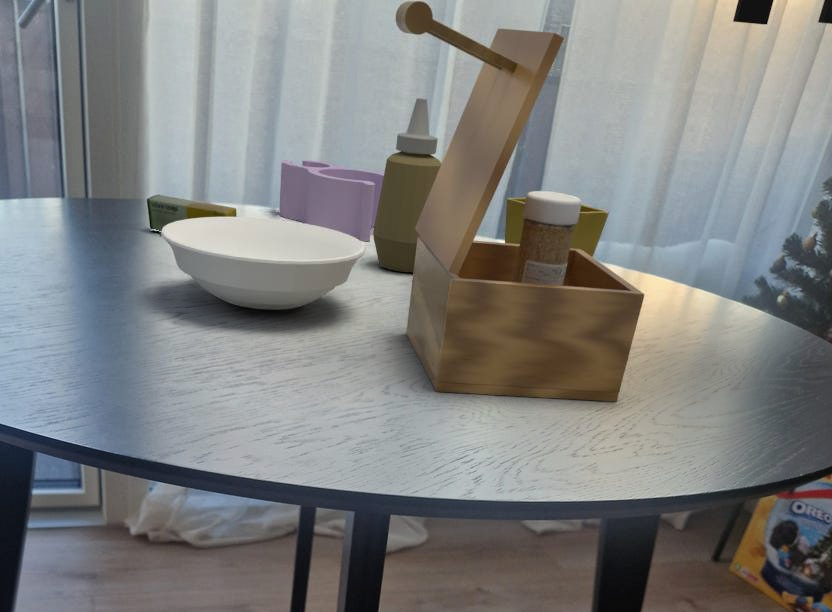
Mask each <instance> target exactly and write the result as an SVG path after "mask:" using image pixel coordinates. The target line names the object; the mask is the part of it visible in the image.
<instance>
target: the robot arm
mask: <svg viewBox="0 0 832 612" xmlns="http://www.w3.org/2000/svg"><path fill="white" fill-rule="evenodd" d="M773 4H774V0H737V4H736V8H735V12H734V16H733V20H732V22H734V23H743V24H755V25H768V23H769V19H770V15H771V11H772V8H773ZM817 23H819V24H830V25H832V0H823V4H822V7H821V10H820V14H819V17H818V20H817Z"/></svg>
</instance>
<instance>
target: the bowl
mask: <svg viewBox="0 0 832 612" xmlns="http://www.w3.org/2000/svg"><path fill="white" fill-rule="evenodd" d="M160 235H161V236H162V239H163V240H164V241H165V242H166V243H167V244H168V245H169V247H170V248H171V250H172V252H173V257H174V260H175V262H176V265H177V267H178V269H179V270H180V271H182V272H183V273H184V274H187V275H188V276H190V278H191V279H192V280H193V281H194V282H196V283H197V284H198V285H199V286H200V287H202V288H203V289H204V290H206V291H207V292H208V293H210V294H211V295H213V296H215V297H216V298H218V299H220V300H222V301H224V302H226V303H229V304H232V305H234V306H239V307H243V308H249V309H256V310H267V311H268V310H269V311H270V310H277V311H279V310H290V309H291V310H292V309H297V308H300V307H303V306H305V305H308V304H311V303H312V302H314V301H317V300H319V299H320V298H322V297H324V296H326V294H328V293H329V292H331V291H333V290H334V289H335V288H336V287H338V286H341V285H343V284H346V282H348V279H349V277H350V274H351V272H352V269H353V267H354V266H355V264H356V263H357V261H358V260H359V259H360V258H362V257H363V256H364V255H365V253H366V251H367V248H366V246H365V244H364V242H363V241H361V240H360V239H359V238H354V237H352V236H350V235H348V234H345V233H342V232H339V231H336V230H332V229H328V228H324V227H320V226H315V225H310V224H305V223H304V222H299V221H292V220H283V219H276V218H267V217H265V218H264V217H252V216H251V217H249V216H237V217H202V218H192V219H185V220H180V221H175V222H172V223H169V224H167V225H166V226H164V227H163V229H162V232H160Z"/></svg>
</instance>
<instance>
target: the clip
mask: <svg viewBox="0 0 832 612" xmlns="http://www.w3.org/2000/svg"><path fill="white" fill-rule="evenodd" d="M280 163H281V164H280V184H279V185H280V189H279V208H278V210H279V211H278V215H279V216H280V217H283V218H285V219H289V220H294V221H297V222H300V223H305V224H310V225H315V226H320V227H324V228H328V229H332V230H336V231H339V232H342V233H345V234H348V235H350V236H352V237H354V238H357V239H358V240H360V241H361V242H370V241H371V234H372V233H371V232H372V227H373V228H374V225H375V220H376V214H377V209H378V204H379V198H380V193H381V188H382V183H383V177H384V173H382V172H378V171H372V170H365V169H359V168H358V169H357V168H350V167H344V166H340V165H337V164H334V163H330V162H325V161H318V160H310V159H302V162H301V165H300V164H295V163H293V161H292V160H285V159H284V160H281V162H280Z"/></svg>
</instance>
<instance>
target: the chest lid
mask: <svg viewBox="0 0 832 612" xmlns="http://www.w3.org/2000/svg"><path fill="white" fill-rule="evenodd" d="M395 23H396V26H397V28H398V29H399V30H400V31H401V32H402V33H404V34H410V35H416V36H417V35H418V36H420V35H423V34H428V35H430V36H432V37H434V38H435V39H438V40H440V41H442V42H444V43H446V44H448V45H450V46H452V47H453V48H456V49H457V50H459V51H461V52H464V53H465V54H467V55H469V56H471V57H473V58H475V59H477V60H479V61H481V62H483V64H482V66H481V68H480V70H479V73H478V76H477V78H476V80H475V82H474V85H473V87H472V90H471V92H470V95H469V97H468V100H467V101H466V104H465V107H464V109H463V111H462V114H461V116H460V119H459V120H458V124H457V126H456V128H455V130H454V133H453V136H452V138H451V141H450V142H449V145H448V147H447V150H446V153H445V154H444V157H443V159H442V162H441V163H442V164H441V167H440V169H439V172H438V174H437V176H436V179H435V181H434V184H433V186H432V188H431V191H430V193H429V196H428V198H427V200H426V203H425V205H424V208H423V210H422V213H421V215H420V217H419V220H418V222H417V225H416V227H415V230H416V231H417V232H418V233H419V235H420V236H421V237H422V239H423V240H424V241H425V242H426V244H427V245H428V246H429V247H430V249H431V250H432V251H433V252H434V254H435V255H436V256H437V257H438V259H439V260H440V261H441V262H442V264H443V265H444V266H445V267H446V269H447V270H448V271H449V272H451V273H453V274H455V275H458V274H459V271H460V269H461V267H462V265H463V262H464V260H465V258H466V256H467V253H468V251H469V249H470V247H471V245H472V242H473V241H475V238H476V237H477V233H478V231H479V229H480V227H481V224H482V222H483V220H484V219H485V215H486V213H487V211H488V209H489V207H490V204H491V202H492V200H493V198H494V196H495V194H496V191H497V189H498V186H499V184H500V182H501V180H502V177H503V176H504V173H505V171H506V169H507V166H508V164H509V162H510V160H511V157H512V156H513V154H514V151H515V149H516V147H517V144H518V142H519V140H520V137H521V135H522V133H523V132H524V128H525V127H526V124H527V122H528V120H529V118H530V115H531V113H532V111H533V109H534V106H535V104H536V102H537V100H538V99H539V95H540V93H541V91H542V89H543V86H544V85H545V82H546V80H547V78H548V75H549V73H550V71H551V69H552V66H553V64H554V62H555V60H556V58H557V55H558V53H559V51H560V49H561V47H562V44H563V42H564V40H565V37H564V36H562V35H560V34H558V33H557V32H551V31H550V32H549V31H537V30H524V29H512V28H511V29H510V28H497V30H496V32H495V35H494V37H493V39H492V42H491V44H490V46H489V47H488V46H486V45H484V44H482V43H480V42H478V41H477V40H474V39H473V38H471V37H469V36H467V35H465V34H463V33H461V32H459V31H457V30H455V29H453V28H451V27H449V26H447V24H444V23H441V22H439V21H438V20H436V19H434V15H433V11H432V7H430V5H429V4H428V3H427V2H425V1H422V0H413V1H412V0H411V1H409V0H408V1H404V2H402V3H401V4H400V5H399V6H398V8H397V10H396V13H395Z"/></svg>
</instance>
